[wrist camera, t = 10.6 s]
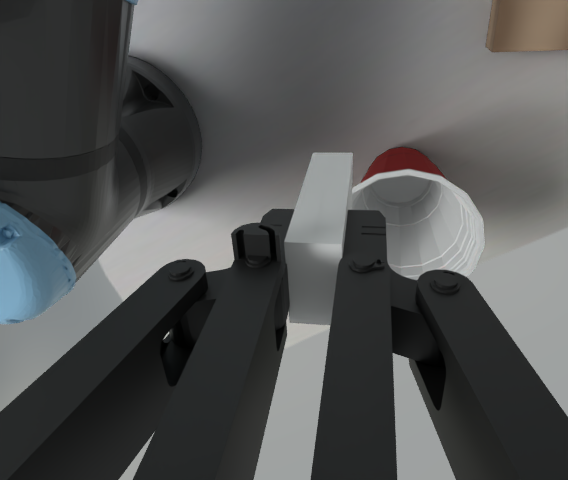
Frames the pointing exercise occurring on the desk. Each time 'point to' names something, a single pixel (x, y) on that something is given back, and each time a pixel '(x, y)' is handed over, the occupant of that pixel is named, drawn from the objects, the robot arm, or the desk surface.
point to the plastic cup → (421, 214)
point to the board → (528, 25)
